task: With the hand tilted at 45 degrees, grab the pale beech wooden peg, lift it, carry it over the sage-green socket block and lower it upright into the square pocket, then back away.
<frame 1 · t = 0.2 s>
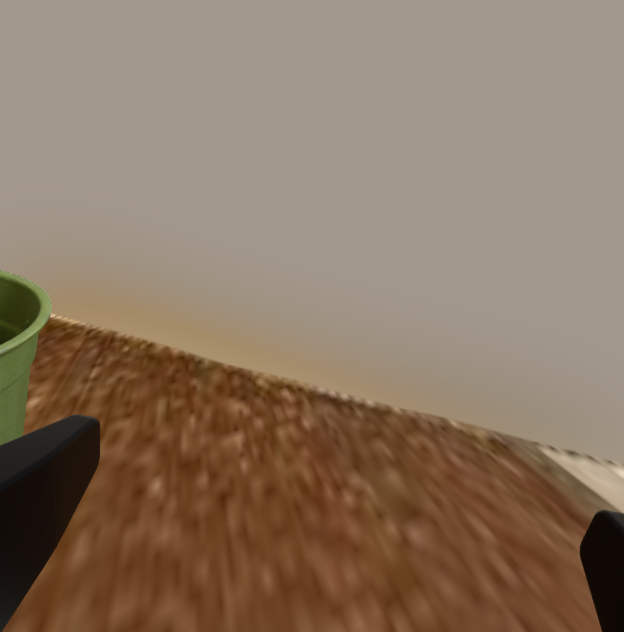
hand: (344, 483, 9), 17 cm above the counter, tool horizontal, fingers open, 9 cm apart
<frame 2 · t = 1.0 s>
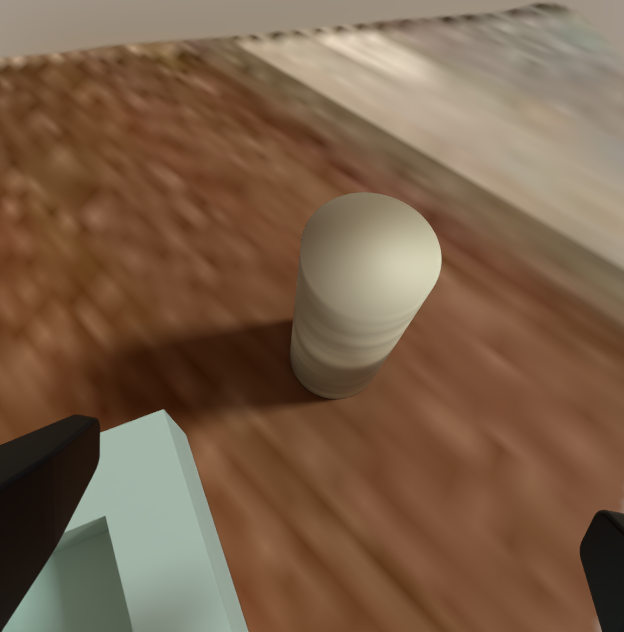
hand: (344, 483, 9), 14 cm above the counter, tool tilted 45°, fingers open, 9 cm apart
beech peg: (334, 355, 24), on the counter
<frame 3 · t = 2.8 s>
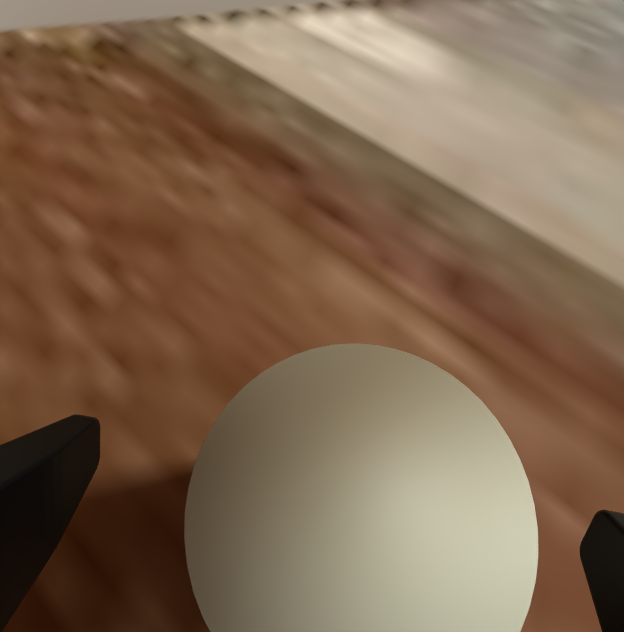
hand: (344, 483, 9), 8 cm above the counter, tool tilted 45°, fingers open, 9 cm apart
beech peg: (309, 520, 15), on the counter
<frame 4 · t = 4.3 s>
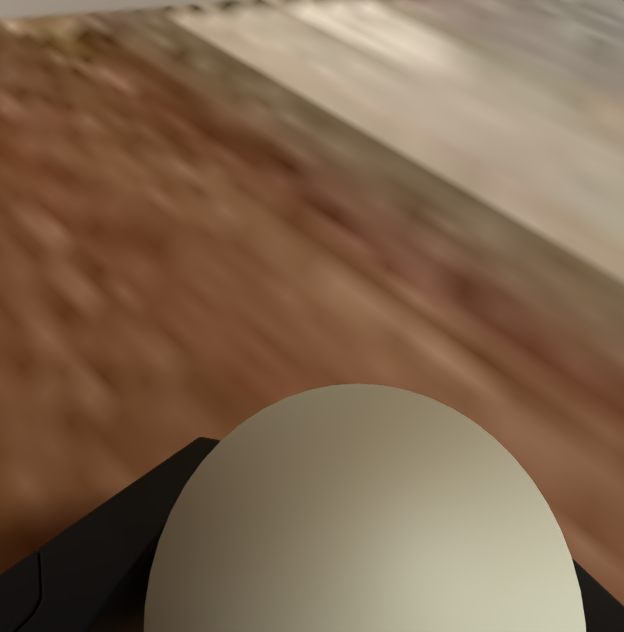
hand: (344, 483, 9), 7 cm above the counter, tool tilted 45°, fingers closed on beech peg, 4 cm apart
beech peg: (307, 549, 14), on the counter, touching gripper
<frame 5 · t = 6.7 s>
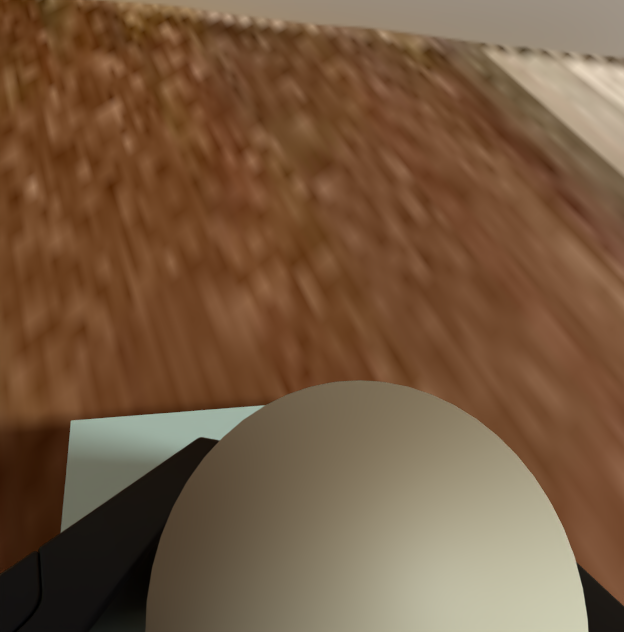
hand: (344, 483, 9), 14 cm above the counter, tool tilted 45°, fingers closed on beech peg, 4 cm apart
socket block: (256, 576, 20), on the counter
beech peg: (307, 548, 14), point 7 cm above the counter, touching gripper
when the fingers open (8 cm above the counter, at t = 9.0 s): beech peg stays where it is, resting on socket block.
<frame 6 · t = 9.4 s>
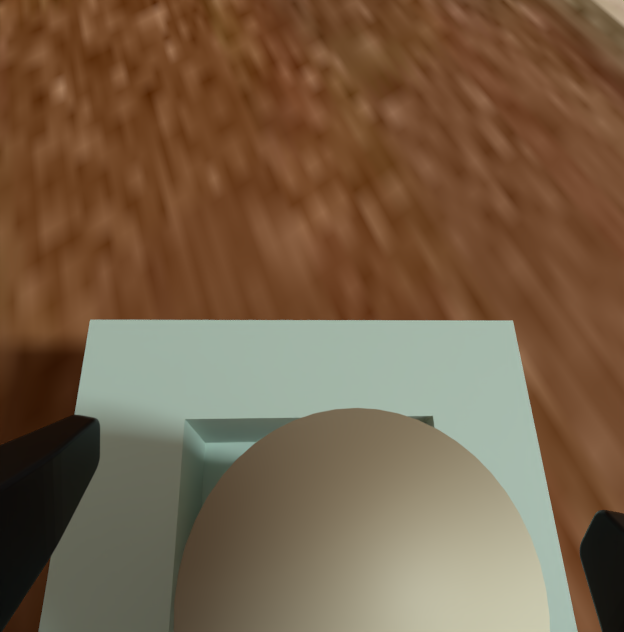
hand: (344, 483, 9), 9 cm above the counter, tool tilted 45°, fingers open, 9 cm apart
socket block: (303, 546, 16), on the counter
beech peg: (305, 549, 15), point 1 cm above the counter, touching socket block
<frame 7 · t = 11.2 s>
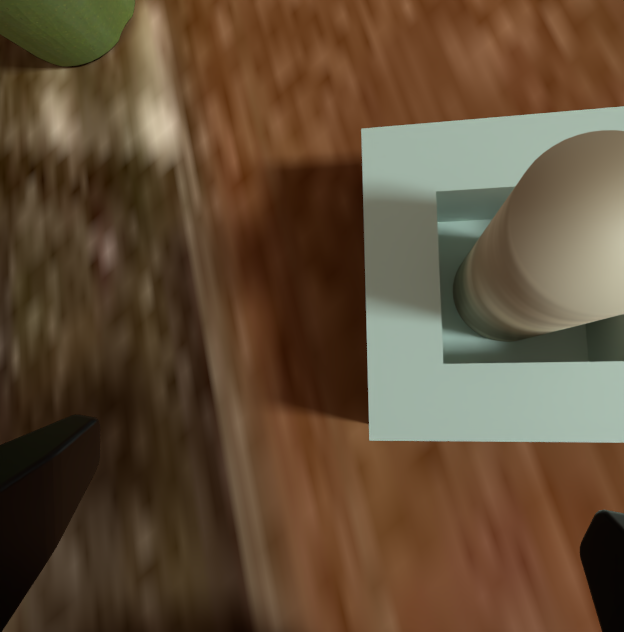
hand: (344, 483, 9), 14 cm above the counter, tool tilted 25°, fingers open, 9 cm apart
plant pot: (80, 15, 28), on the counter
socket block: (499, 293, 22), on the counter
beech peg: (505, 290, 21), point 1 cm above the counter, touching socket block
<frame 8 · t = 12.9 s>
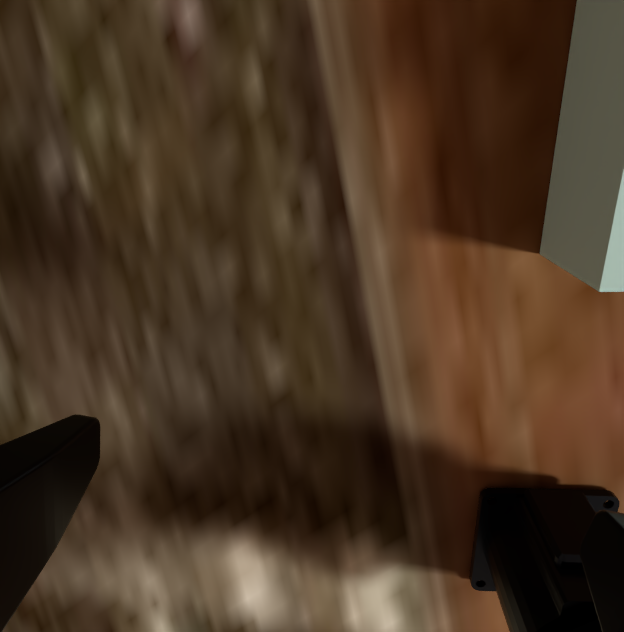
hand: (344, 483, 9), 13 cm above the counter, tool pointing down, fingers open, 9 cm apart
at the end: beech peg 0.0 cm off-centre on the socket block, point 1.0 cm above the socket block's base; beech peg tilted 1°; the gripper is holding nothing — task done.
